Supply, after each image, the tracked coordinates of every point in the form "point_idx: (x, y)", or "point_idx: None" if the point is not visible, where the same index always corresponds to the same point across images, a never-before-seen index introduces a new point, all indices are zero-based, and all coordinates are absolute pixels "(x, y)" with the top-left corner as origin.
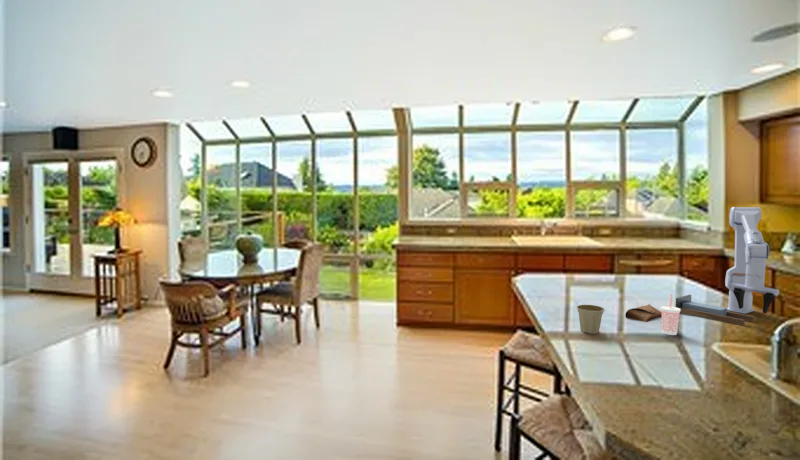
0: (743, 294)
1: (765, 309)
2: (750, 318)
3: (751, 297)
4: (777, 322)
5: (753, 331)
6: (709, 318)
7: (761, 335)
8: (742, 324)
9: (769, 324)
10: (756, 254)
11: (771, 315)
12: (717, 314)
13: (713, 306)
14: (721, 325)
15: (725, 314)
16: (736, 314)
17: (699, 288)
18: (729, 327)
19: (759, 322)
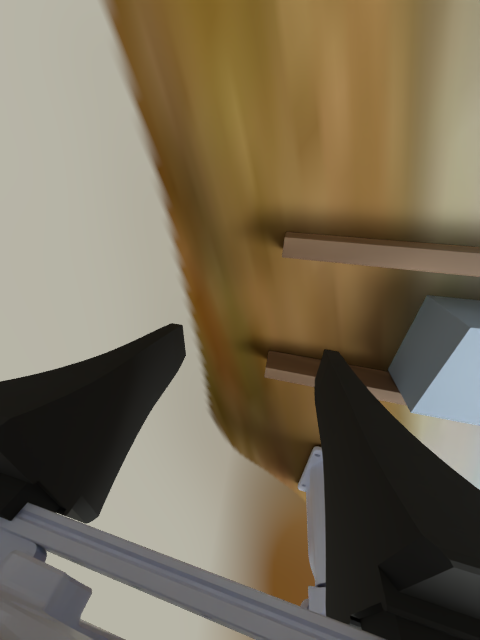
0: (332, 517)
1: (151, 334)
2: (277, 361)
3: (311, 547)
4: (207, 394)
5: (202, 104)
6: None
7: (127, 4)
8: (291, 233)
9: (212, 351)
10: None
11: (248, 459)
12: (467, 311)
13: None
14: (436, 58)
15: (401, 369)
16: None
17: None
18: (363, 45)
19: (247, 358)
